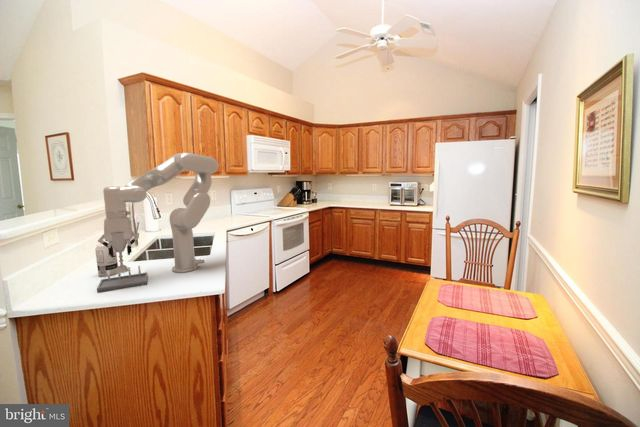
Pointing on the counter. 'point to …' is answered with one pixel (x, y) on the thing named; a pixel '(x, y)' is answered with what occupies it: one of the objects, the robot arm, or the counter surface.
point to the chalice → (119, 250)
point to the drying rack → (122, 281)
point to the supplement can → (106, 260)
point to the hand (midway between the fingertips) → (120, 254)
